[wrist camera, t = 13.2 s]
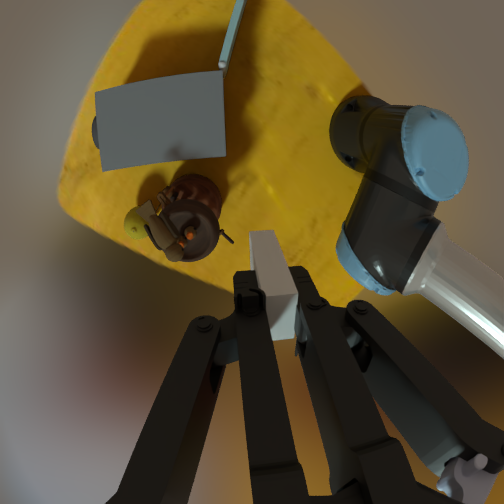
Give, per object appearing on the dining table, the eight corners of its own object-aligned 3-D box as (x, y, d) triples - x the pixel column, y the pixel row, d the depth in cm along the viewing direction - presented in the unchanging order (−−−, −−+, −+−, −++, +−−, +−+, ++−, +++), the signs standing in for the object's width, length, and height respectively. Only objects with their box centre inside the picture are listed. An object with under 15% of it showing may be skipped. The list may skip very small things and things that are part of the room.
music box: (146, 206, 48) (112, 249, 30) (179, 157, 45) (158, 171, 27) (211, 249, 53) (213, 310, 35) (246, 205, 51) (267, 247, 32)
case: (223, 79, 38) (222, 68, 29) (226, 147, 44) (226, 156, 35) (111, 96, 37) (83, 94, 27) (117, 160, 43) (91, 174, 33)
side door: (232, 79, 38) (234, 69, 29) (219, 77, 38) (217, 66, 29) (256, -7, 30) (264, -33, 21) (243, -9, 30) (248, -36, 20)
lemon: (150, 232, 50) (139, 252, 43) (127, 217, 48) (113, 235, 41) (164, 210, 49) (154, 227, 42) (140, 194, 47) (126, 209, 40)
